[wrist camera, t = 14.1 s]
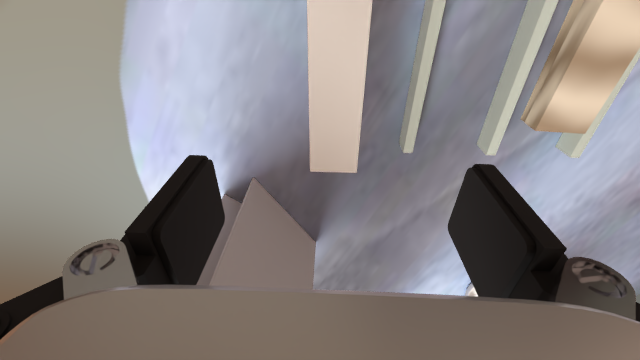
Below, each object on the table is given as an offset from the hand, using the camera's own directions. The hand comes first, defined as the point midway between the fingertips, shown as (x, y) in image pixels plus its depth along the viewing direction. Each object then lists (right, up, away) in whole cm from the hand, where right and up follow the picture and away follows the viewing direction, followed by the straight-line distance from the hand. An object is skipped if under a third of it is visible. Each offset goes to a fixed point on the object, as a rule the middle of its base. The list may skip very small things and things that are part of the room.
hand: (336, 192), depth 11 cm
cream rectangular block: (+1, +13, +18) cm, 22 cm away
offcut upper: (+24, +11, +16) cm, 31 cm away
